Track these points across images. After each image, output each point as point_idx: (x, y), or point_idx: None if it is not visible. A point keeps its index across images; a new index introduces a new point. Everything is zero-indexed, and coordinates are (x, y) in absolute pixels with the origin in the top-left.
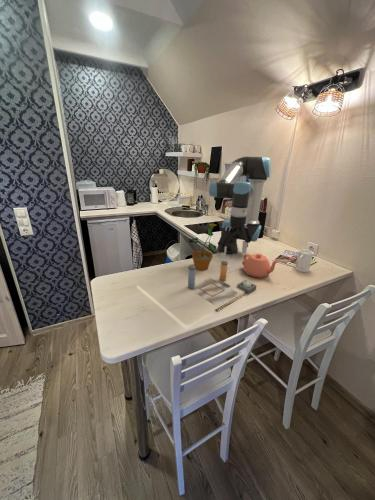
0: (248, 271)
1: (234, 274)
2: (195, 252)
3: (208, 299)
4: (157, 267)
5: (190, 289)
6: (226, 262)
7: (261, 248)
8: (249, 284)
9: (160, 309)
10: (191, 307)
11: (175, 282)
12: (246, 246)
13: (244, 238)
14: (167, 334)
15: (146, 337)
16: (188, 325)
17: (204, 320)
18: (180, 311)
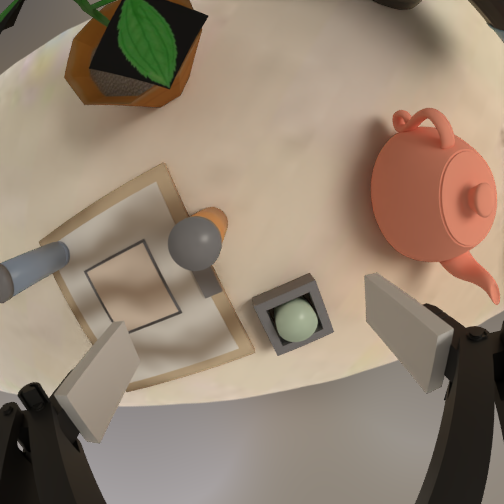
0: (377, 212)
1: (310, 171)
2: (115, 9)
3: None
4: (16, 70)
5: None
6: (206, 256)
7: (496, 43)
8: (301, 335)
9: (4, 322)
10: (62, 346)
11: (28, 189)
12: (408, 364)
13: (447, 412)
14: None
15: (7, 381)
16: None
17: None
18: (40, 349)
